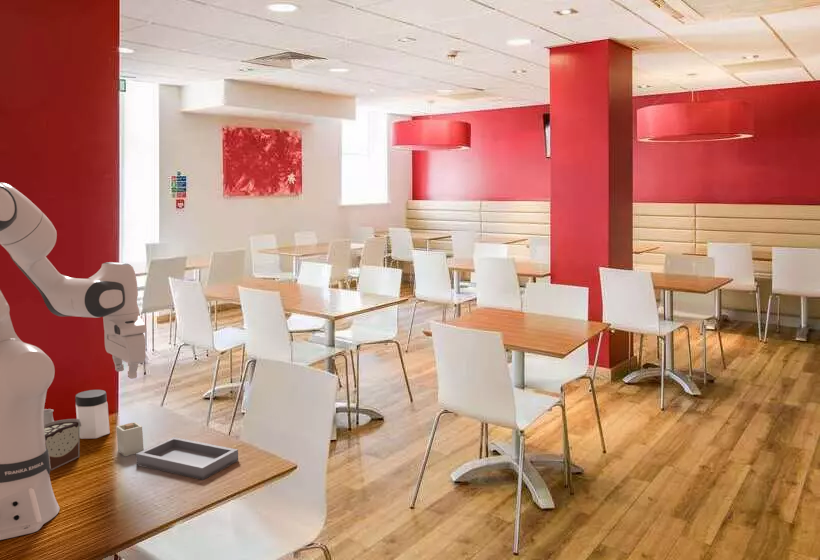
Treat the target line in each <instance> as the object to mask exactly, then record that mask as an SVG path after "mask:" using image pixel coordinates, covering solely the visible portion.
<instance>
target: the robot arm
mask: <svg viewBox="0 0 820 560" xmlns="http://www.w3.org/2000/svg"><path fill="white" fill-rule="evenodd" d="M57 236H58V234H57V230H56V228H55V226H54V224H53V222H52V221H51V220H50V219H49V217H47V215H46V214H45V213H44V212H43V211H42V210H41V209H40V208H39V207H38V206H37V205H36V204H35V203H33V202H32V200H30V199H29V198H28V197H27V196H26V195H24V194H23V193H22V192H20V191H19V190H18V189H16V187H13V186H12V185H11V184H9V183H6V182H0V246H1V247H3V248H4V249H5V250H6V252H7V253H8V254H9V256H10V259H11V260H12V262H13V263H14V264H15V266H16V267H17V268H18V269H19V271H21V272H22V273H23V274H24V276H26V278H27V279H28V280H29V281H30V283H31V284H32V285H33V286H34V287H35V288H36V289H37V290H38V292H39V294H40V296H41V297H42V299H43V301H44V304H45V306H46V308H47V309H48V311H49V312H50V313H52V314H53V315H55V316H57V317H64V318H65V317H79V318H80V317H81V318H93V319H94V318H95V319H96V318H102V319H103V330H104V331H103V332H104V348H105V351H106V353H107V354H110V355H112V356H111V357H112V360H113V361H112V362H113V363H114V368H115V369H114V370H115V371H116V372H123V371H125V368H124V367H125V366H124V363H123V361H124V362H126V363H127V366H128V371H127V377H128V378H129V379H131V380H133V379H136V378H137V376H138V375H137V374H138V372H137V371H138V367H139V364H143V363H144V362H145V360H146V357H147V356H146V353H147V352H146V350H147V349H146V336H145V333H146V332H147V326H146V323H144V321H143V320H142V319H141V318H142V317H141V316H140V307H139V306H138V295H139V292H138V291H139V290H138V282H137V276H136V272H135V269H134V267H133V266H132V265H131V264H129V263H127V262H126V263H124V262H115V261H114V262H113V261H109V262H108V261H107V262H103V263H101V267H100V269H98V271H97V272H96V273H94V274H93V275H91V276H90V277H88V278H78V277H77V278H76V277H70V276H67V275H65V274H61V273H60V272H59V271H58V270H57V269H56V267H55V266H54V265H53V263H52V262H51V261H50V260H49V259H48V257H47V256H48V255H49V254H50V253H51V252H52V250H53V248H54V247H55V246H56V243H57V238H58V237H57ZM10 310H11V309H10V305H9V303H8V301H7V300H6V298H5V296H4V294H3V292H2V290H1V289H0V541H2V540H7V539H12V538H17V537H19V536H24V535H29V534H33V533H35V532H38V531H40V529H41V528H42V527H43V525H44V524H46V523H48V522H50V521H51V520H52V519H53V518H55V517H56V516H57V515H58V513H59V512H60V506H59V504H58V501H57V499H56V496H55V493H54V489H53V487H52V482H51V477H50V476H51V475H50V474H51V471H50V457H49V452H48V449H46V445H45V432H44V410H45V405H46V404H45V403H46V399H47V394H48V393H47V392H48V389H49V387H50V386H51V385H52V383H53V381H54V379H55V372H56V370H55V365H54V362H53V361H52V359H51V357H49V355H48V354H47V353H45V352H44V350H42V349H41V348H40V347H39V346H36V345H33V344H31V343H27V342H24V341H23V340H21V339H20V337H19V336H18V335H17V333H16V332H15V329H14V326H13V322H12V319H11V315H10V312H11V311H10Z"/></svg>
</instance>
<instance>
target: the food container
mask: <svg viewBox="0 0 820 560" xmlns="http://www.w3.org/2000/svg"><path fill="white" fill-rule="evenodd" d="M80 426H81V422H80V421H79V419H77V418H66V419H59V420H54V422H50V423H47V424H45V425H44V432H45V445H46V449H48V452H49V457H50V472H51V471H53V470H55V469H57V468H59V467H61V466H64V465H65V464H68V463H69V462H72V461H74V460H76V459H77V458H80V437H79V431H80Z"/></svg>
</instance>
